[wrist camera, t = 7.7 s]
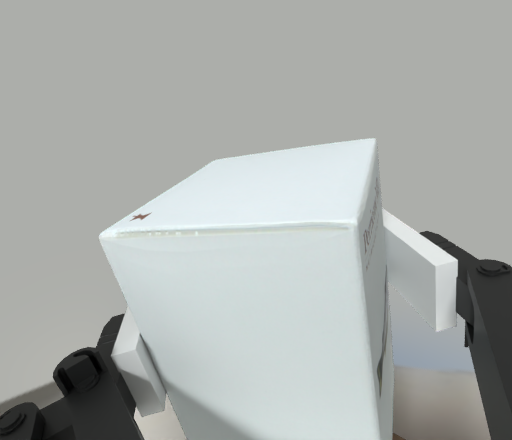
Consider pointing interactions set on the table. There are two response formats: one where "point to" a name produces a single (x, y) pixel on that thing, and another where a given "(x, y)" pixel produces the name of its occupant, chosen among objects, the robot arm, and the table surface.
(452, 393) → the table surface
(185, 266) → the supplement box
